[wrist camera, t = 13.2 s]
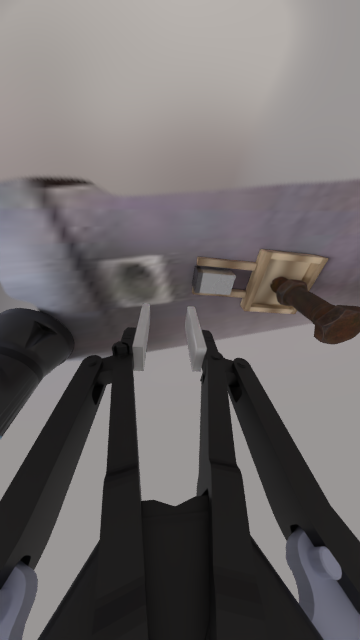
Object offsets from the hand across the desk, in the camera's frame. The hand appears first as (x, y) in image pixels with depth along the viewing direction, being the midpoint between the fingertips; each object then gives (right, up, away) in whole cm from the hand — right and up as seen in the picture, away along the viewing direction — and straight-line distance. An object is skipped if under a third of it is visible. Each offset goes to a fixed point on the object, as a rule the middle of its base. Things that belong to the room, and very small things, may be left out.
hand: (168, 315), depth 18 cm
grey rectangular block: (+7, +8, +13) cm, 17 cm away
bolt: (+21, +7, +14) cm, 26 cm away
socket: (+15, +8, +14) cm, 22 cm away
